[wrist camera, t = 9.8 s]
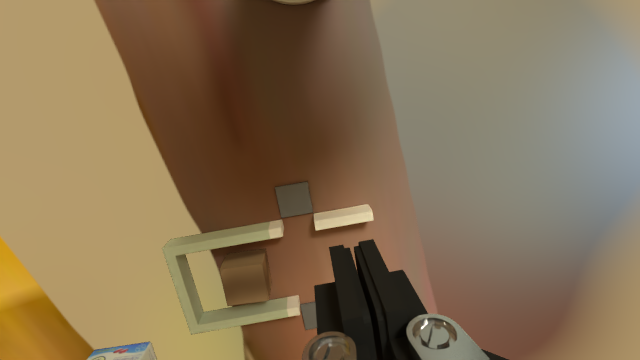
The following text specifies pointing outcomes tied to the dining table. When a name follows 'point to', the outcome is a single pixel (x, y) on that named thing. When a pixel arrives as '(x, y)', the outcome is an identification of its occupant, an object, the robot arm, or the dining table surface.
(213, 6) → the dining table surface
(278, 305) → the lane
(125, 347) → the medicine box
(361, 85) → the dining table surface
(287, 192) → the pads
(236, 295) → the walnut block
